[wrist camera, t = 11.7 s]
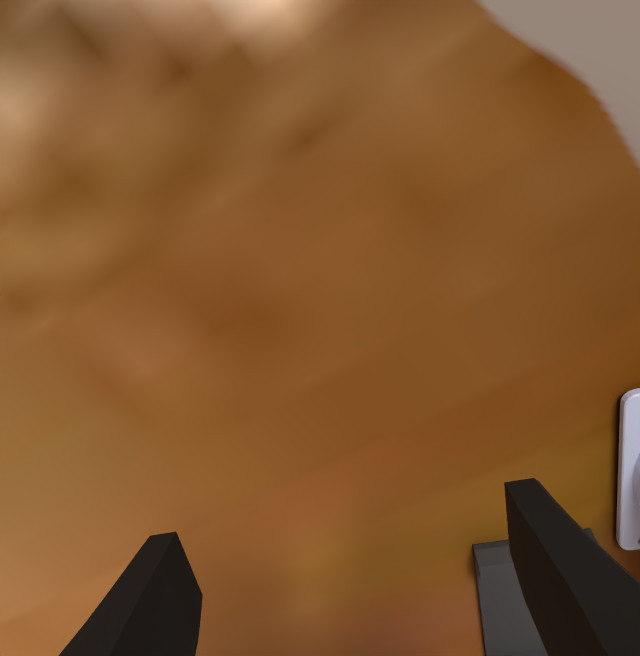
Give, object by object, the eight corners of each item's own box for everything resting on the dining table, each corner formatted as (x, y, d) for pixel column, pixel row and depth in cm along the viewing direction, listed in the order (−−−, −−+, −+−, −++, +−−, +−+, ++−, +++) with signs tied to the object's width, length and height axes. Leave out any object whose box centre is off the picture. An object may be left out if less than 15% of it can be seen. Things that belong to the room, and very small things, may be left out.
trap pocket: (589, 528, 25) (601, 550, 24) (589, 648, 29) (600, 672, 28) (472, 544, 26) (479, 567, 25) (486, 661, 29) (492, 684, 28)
